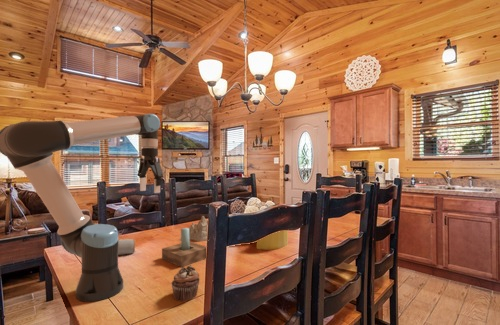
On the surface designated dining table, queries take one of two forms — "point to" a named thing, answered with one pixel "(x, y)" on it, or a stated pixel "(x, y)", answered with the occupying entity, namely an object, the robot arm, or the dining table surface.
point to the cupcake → (185, 284)
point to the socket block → (184, 254)
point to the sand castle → (199, 230)
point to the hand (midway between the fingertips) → (149, 191)
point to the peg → (185, 239)
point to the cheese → (273, 241)
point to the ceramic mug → (126, 246)
